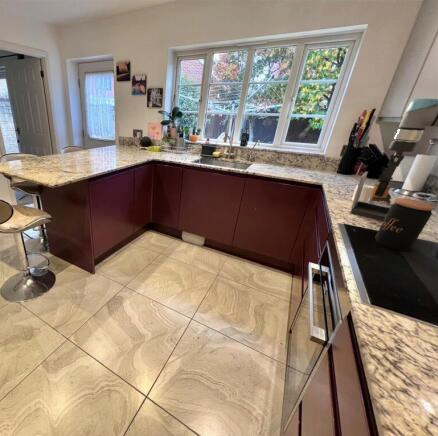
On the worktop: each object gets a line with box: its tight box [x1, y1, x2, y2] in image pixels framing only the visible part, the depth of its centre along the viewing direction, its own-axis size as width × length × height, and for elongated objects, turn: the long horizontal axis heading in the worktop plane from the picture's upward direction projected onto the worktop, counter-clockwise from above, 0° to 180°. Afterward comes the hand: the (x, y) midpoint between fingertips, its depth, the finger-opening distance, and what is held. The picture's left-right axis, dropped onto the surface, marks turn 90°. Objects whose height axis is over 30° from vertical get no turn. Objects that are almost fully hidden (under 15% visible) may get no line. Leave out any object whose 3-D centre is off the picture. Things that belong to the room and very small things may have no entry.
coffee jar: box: [374, 197, 437, 252], centre depth 90 cm, size 11×11×18 cm
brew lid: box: [350, 171, 369, 209], centre depth 123 cm, size 16×19×1 cm
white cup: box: [351, 183, 374, 203], centre depth 139 cm, size 8×8×10 cm
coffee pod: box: [370, 183, 393, 198], centre depth 104 cm, size 6×6×5 cm
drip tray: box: [350, 201, 390, 222], centre depth 122 cm, size 15×19×3 cm
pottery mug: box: [369, 192, 392, 205], centre depth 140 cm, size 12×10×8 cm
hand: (378, 194), depth 105 cm, fingers closed on coffee pod, 6 cm apart
